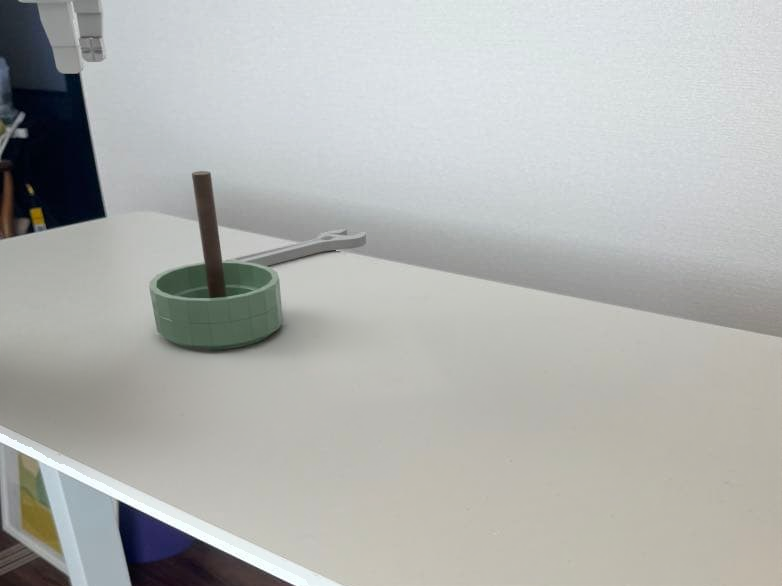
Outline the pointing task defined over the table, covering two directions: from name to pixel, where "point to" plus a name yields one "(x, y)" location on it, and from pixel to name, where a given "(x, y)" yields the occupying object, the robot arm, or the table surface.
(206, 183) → the muddler
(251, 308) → the bowl
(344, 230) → the adjustable wrench
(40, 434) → the table surface
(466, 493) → the table surface
